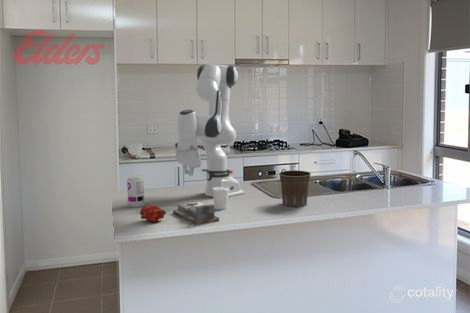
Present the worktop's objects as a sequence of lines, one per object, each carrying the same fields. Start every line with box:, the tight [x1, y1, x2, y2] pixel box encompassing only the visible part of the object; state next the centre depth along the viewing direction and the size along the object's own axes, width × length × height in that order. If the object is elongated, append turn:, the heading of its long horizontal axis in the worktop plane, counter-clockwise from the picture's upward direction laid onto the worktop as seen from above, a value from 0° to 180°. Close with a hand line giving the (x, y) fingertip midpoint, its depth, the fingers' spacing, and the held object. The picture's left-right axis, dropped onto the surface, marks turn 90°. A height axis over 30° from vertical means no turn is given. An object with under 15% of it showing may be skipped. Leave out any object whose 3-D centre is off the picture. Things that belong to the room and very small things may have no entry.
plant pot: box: [278, 169, 312, 207], centre depth 238 cm, size 16×16×16 cm
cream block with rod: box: [186, 201, 206, 213], centre depth 214 cm, size 8×6×6 cm
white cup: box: [213, 187, 230, 211], centre depth 233 cm, size 8×8×10 cm
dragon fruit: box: [139, 204, 167, 223], centre depth 211 cm, size 8×8×12 cm
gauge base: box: [172, 203, 220, 226], centre depth 218 cm, size 12×24×8 cm, turn 30°
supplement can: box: [126, 175, 146, 208], centre depth 240 cm, size 8×8×15 cm
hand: (188, 174), depth 221 cm, fingers open, 3 cm apart
